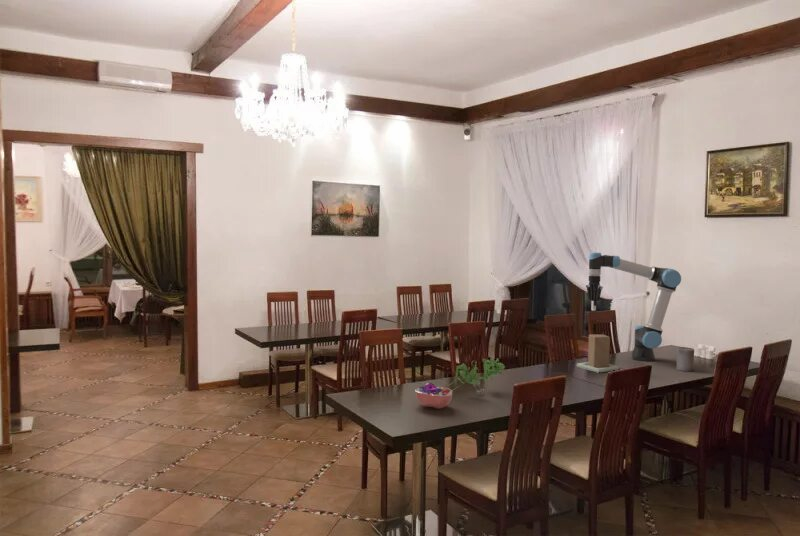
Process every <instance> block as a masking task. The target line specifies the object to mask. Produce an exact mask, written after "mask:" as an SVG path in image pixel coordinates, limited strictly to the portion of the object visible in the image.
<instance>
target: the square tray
mask: <svg viewBox="0 0 800 536" xmlns="http://www.w3.org/2000/svg"><path fill="white" fill-rule="evenodd" d="M576 367H577V368H579V369H583V370H586V371H591V372H595V373H599V372H600V373H604V372H612V371H613V370H615V371H619V370H618V369H620V366H618V365H614V364H610V363H609V367H604V368H595V367H592V366H589V365H588V361H587V362H579V363H578V362H577V363H576ZM600 373H599V374H600Z"/></svg>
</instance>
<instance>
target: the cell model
mask: <svg viewBox="0 0 800 536" xmlns="http://www.w3.org/2000/svg"><path fill="white" fill-rule="evenodd" d="M414 392H415V394H416V399H417V400H418V402H419V404H420V405H422V406H423V407H426V408H427V407H428V408H434V409H438V410H439V409H442V408H445V407H448V406H449V404H450V403H451V401H452V398H453V397H452V396H453V392H454V391H453V389H450V388H448V387H443V386H437V385H436V386H435V384H433V383H432V382H427V383H425V384H424V386H419V387H417V388H415V389H414Z"/></svg>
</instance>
